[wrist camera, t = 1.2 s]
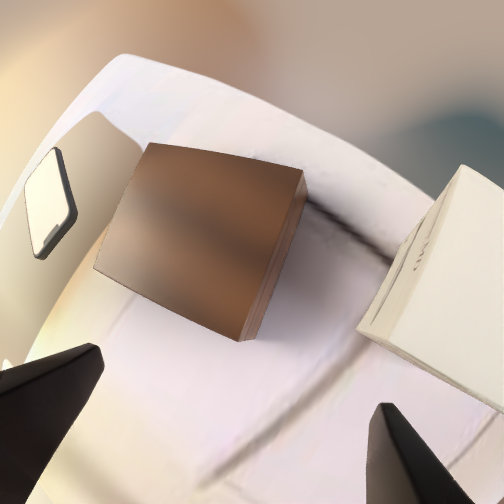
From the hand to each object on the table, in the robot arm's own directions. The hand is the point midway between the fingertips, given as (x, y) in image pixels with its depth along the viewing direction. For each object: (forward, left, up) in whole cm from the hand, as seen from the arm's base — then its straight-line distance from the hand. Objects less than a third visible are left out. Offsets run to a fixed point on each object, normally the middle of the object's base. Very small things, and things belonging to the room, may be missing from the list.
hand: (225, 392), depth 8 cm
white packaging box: (0, -10, -14) cm, 17 cm away
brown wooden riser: (+11, +4, -13) cm, 18 cm away
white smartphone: (+25, +25, -14) cm, 38 cm away
